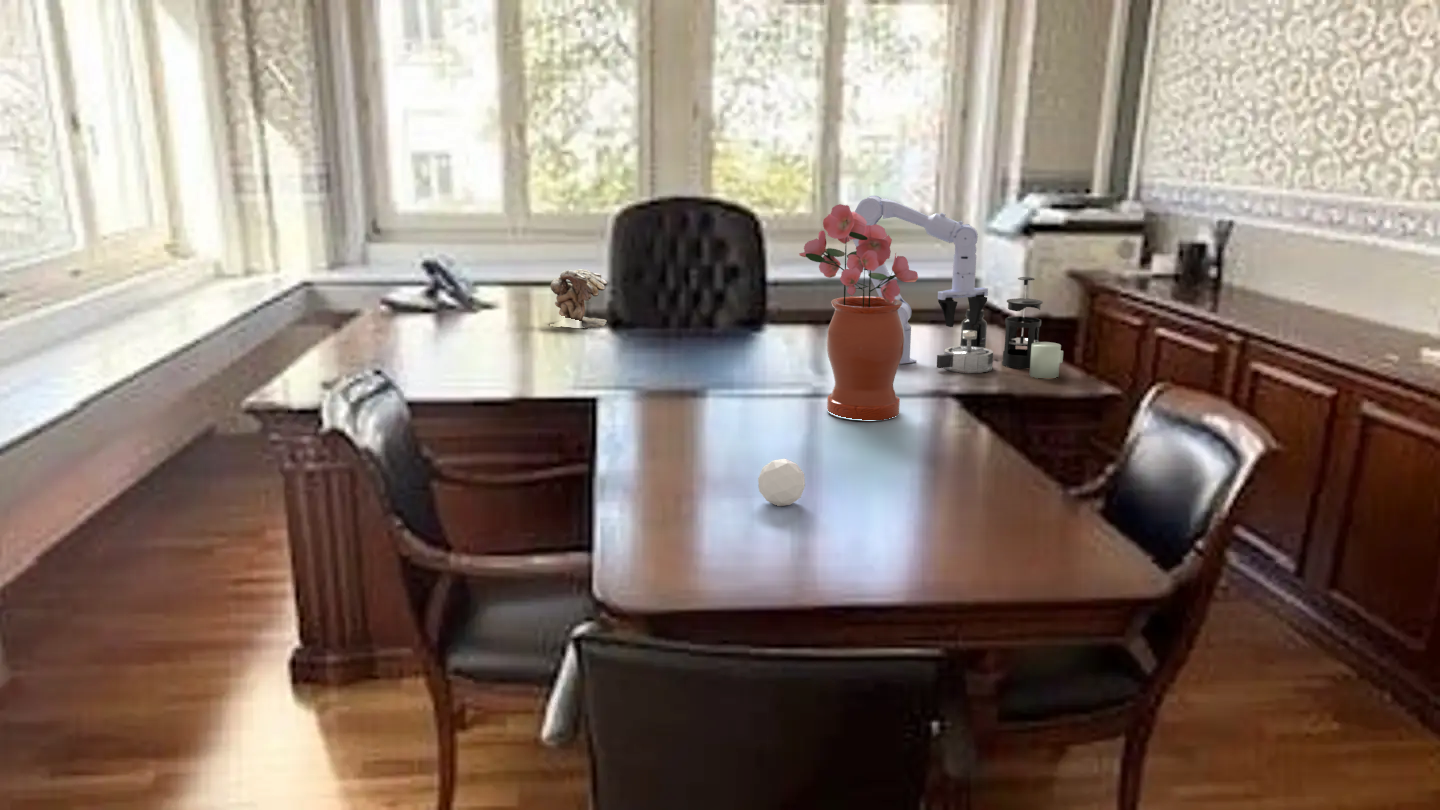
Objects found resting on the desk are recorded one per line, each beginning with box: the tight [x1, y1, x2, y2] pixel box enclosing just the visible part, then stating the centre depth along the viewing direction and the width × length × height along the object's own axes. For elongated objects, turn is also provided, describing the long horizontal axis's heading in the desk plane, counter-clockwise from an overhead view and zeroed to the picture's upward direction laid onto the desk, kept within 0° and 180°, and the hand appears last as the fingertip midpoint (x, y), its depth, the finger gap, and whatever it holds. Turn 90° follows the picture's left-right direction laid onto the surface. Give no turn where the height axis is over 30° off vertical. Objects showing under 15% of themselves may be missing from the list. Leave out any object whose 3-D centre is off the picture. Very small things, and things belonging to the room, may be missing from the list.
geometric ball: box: [757, 458, 806, 507], centre depth 174 cm, size 8×8×8 cm
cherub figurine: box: [550, 268, 608, 329], centre depth 334 cm, size 18×18×18 cm
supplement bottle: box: [959, 308, 988, 348], centre depth 288 cm, size 7×7×12 cm
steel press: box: [936, 345, 994, 374], centre depth 270 cm, size 15×12×5 cm
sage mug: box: [1028, 341, 1064, 379], centre depth 262 cm, size 9×7×8 cm
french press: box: [1001, 276, 1044, 370], centre depth 273 cm, size 12×9×23 cm
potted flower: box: [798, 203, 919, 421], centre depth 226 cm, size 19×25×45 cm
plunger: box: [951, 330, 986, 355], centre depth 270 cm, size 9×9×6 cm
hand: (961, 325), depth 273 cm, fingers open, 7 cm apart
